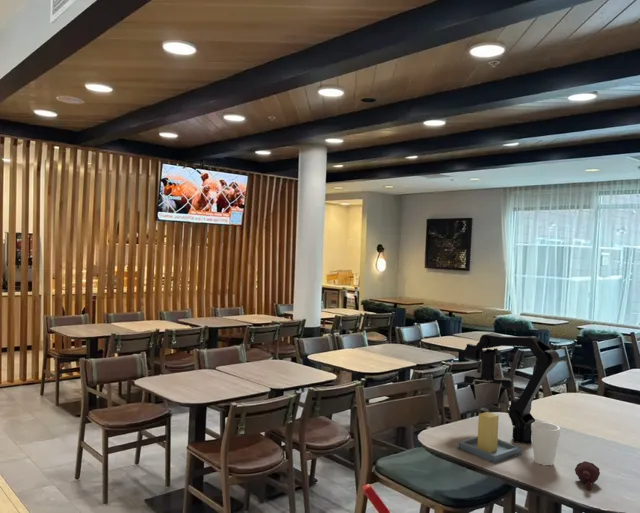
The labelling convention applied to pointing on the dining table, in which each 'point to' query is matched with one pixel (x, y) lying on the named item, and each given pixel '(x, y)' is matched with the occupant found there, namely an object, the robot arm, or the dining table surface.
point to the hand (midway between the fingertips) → (486, 400)
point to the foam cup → (545, 442)
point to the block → (487, 432)
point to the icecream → (587, 473)
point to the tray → (502, 453)
